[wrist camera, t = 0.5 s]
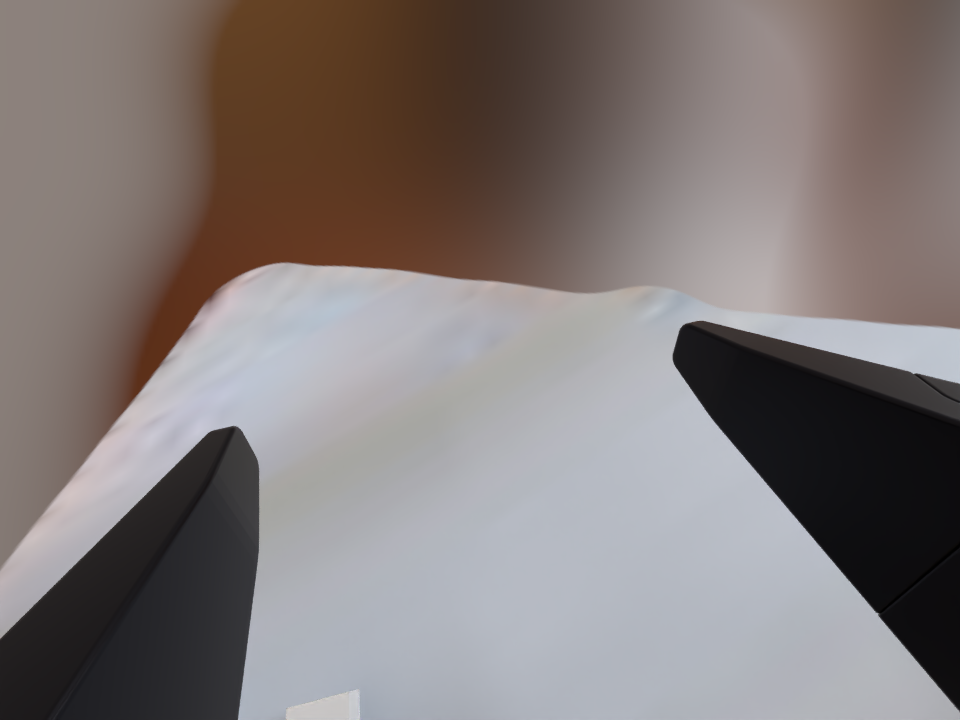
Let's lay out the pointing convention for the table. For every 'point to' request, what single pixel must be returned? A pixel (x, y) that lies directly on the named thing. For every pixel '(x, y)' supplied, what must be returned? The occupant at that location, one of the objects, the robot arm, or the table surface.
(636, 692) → the table surface
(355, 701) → the plug
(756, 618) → the table surface
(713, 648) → the table surface
